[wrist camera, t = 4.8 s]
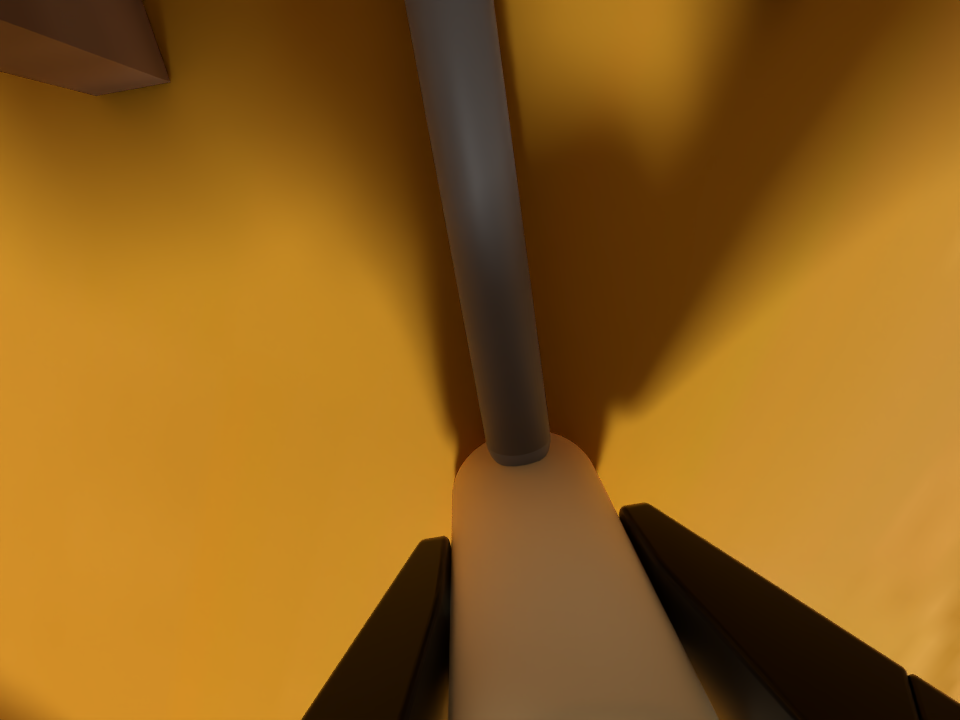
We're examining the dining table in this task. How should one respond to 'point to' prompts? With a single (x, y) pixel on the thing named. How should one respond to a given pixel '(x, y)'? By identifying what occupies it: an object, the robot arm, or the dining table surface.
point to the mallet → (527, 449)
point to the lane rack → (80, 44)
